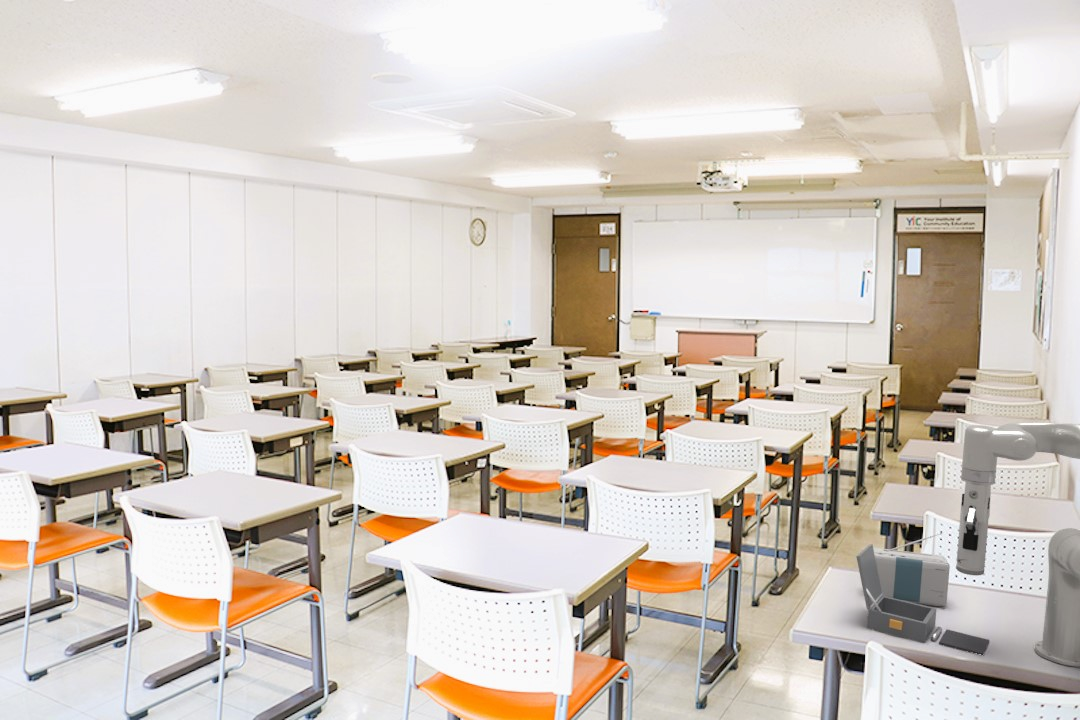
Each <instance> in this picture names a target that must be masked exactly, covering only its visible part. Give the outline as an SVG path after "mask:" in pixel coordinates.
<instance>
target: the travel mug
mask: <svg viewBox="0 0 1080 720" xmlns="http://www.w3.org/2000/svg"><path fill="white" fill-rule="evenodd" d="M963 504H964V493H962V494H961V504H960V515H959V525H958V526H959V528H958V539H957V552H956V566H955V569H956V571H958V572H960V573H961V574H965V575H969V576H983V575H984V573H985V567H986V565H985V564H986V556H987V555H986V553H987V542H988V530H989V520H990V516H989V504H990V505H991V496H990V497H989V500H988V509H987V510H988V512H987V520H986V523H985V524H983V525H982V524H981V523H979V525H978V532H977V535H978V547H977V551H973V550H967V549H963V536H964V531H965V524H966V522H965V521H966V520H965V521H964V520H963ZM975 513H976V512H975ZM966 517H967V516H965V518H966ZM973 522H977V519H974V521H973ZM973 526H975V525H973Z"/></svg>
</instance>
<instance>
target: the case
mask: <svg viewBox="0 0 1080 720" xmlns="http://www.w3.org/2000/svg"><path fill="white" fill-rule="evenodd" d="M873 548H874V545H873V544H872V543H871V544H868V545H867V546H865V548H864V549H862V550H861V552H859V553H858V554H857V555H856V556H855V557H856V562H857V567H858V571H859V572H858V573H859V576H860V580H861V581H860V582H861V586H862V592H863V596H864V601H865V607H866V610H867V625H866V629H868V628H869V629H868V630H872V629H873V631H877V632H880V633H885V634H888V635H892V636H896V637H901V638H903V639H907V640H911V641H916V642H920V643H924V644H925V643H926V642H927V640H928V639H929V637H930V635H931V634H932V632H933V630H934V629H935V628H936V621H937V607H932V606H930V605H928V606H927V605H925V604H919V603H912V602H907V601H903V600H899V599H895V598H890V597H886V596H883V593H882V589H881V584H880V579H879V574H878V569H877V564H876V559H875V554H874V550H873Z"/></svg>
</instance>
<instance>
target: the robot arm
mask: <svg viewBox="0 0 1080 720" xmlns="http://www.w3.org/2000/svg"><path fill="white" fill-rule="evenodd" d="M963 437H964V439H963V451H962V452H963V453H962V463H961V464H962V465H961V475H960V480H961V481H963V482H965V487H964V493H963V494H964V504H963V520H964V521H965V520H966V521H965V522H966V524H965V531H964V536H963V549H967V550H973V551H977V547H978V535H977V532H978V525H979V523H981V524H982V525H983V524H985V523H986V520H987V512H988V510H987V509H988V500H989V497H990V498H991V497H992V496H991V495H992V494H991V493H992V492H991V490H992V486H993V485H995V484H996V475H997V465H998V464H997V462H998V458H1001V459H1006V460H1012V461H1018V462H1020V461H1021V462H1023V461H1026V460H1029V459H1031V458H1032V457H1034V456H1035V455H1036V453H1047V454H1053V455H1054V454H1055V455H1058V456H1063V457H1067V458H1070V459H1077V460H1078V459H1079V460H1080V423H1055V422H1053V423H1051V422H1049V423H1048V422H1018V423H1017V422H1016V423H1013V422H1012V423H1005V424H1002V425H999V426H998V427H997V428H995V427H994V426H988V425H982V424H980V425H979V424H974V425H973V424H972V425H969V426H967V427H966V428H965V429H964V436H963ZM990 511H991V503H990V504H989V517H990V515H991V513H990ZM975 512H976V513H975ZM965 516H967V517H966V518H965ZM974 519H977V522H973V521H974ZM973 525H975V526H973ZM1047 550H1048V551H1047V554H1048V555H1047V556H1048V578H1047V579H1048V580H1047V581H1048V582H1047V590H1046V601H1045V612H1044V621H1043V632H1042V640H1039V641H1037V642H1035V644H1034V646H1033V647H1034V651H1035V652H1036V653H1037V654H1038V655H1039V656H1040V657H1042V658H1043V659H1046V660H1048V661H1051V662H1053V663H1057V664H1061V665H1063V666H1069V667H1075V668H1076V667H1077V668H1080V530H1079V529H1077V528H1072V527H1071V528H1069V527H1068V528H1063V529H1062V528H1061V529H1060V530H1058V531H1057V532H1055V533H1054V534H1053V535H1052V536H1051V538H1050V540H1049V543H1048V548H1047Z"/></svg>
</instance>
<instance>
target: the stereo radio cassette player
mask: <svg viewBox="0 0 1080 720" xmlns="http://www.w3.org/2000/svg"><path fill="white" fill-rule="evenodd" d="M939 535H941V536H942V535H943V533H942V532H939V533H937V534H935V535H932V536H931V535H930V536H928V537H924V538H921V539H918V540H914V541H912V542H908V543H905V544H901V545H899V546H897V547H894V548H890V549H888V548H880V547H873V550H874V554H875V559H876V564H877V569H878V574H879V579H880V584H881V589H882V593H883V596H886V597H890V598H895V599H899V600H903V601H907V602H912V603H916V604H920V605H925V606H927V605H928V606H935V607H938V606H939V608H940V606H941V607H943V606H945V605H946V604H947V602H948V601H947V600H948V590H949V578H950V567H951V566H950V564H949V562H948V560H947V558H946V557H945V556H944V555H938V554H933V553H932V554H931V553H923V552H913V551H907V550H906V551H905V550H899V549H901V548H904V547H907V546H910V545H915V544H916V543H919V542H922V541H925V540H927V539H932V537H933V538H934V537H937V536H939Z"/></svg>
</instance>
